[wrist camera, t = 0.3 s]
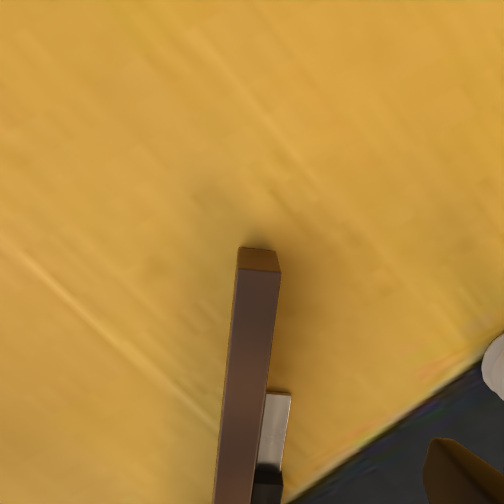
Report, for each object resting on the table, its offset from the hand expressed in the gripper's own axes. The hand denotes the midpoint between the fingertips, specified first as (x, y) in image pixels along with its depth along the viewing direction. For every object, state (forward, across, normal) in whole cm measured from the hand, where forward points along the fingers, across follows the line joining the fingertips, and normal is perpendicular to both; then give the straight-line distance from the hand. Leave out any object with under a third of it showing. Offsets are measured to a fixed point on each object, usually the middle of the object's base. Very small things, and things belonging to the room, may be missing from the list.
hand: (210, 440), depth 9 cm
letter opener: (+14, -3, +14) cm, 20 cm away
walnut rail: (+14, -1, +10) cm, 18 cm away
